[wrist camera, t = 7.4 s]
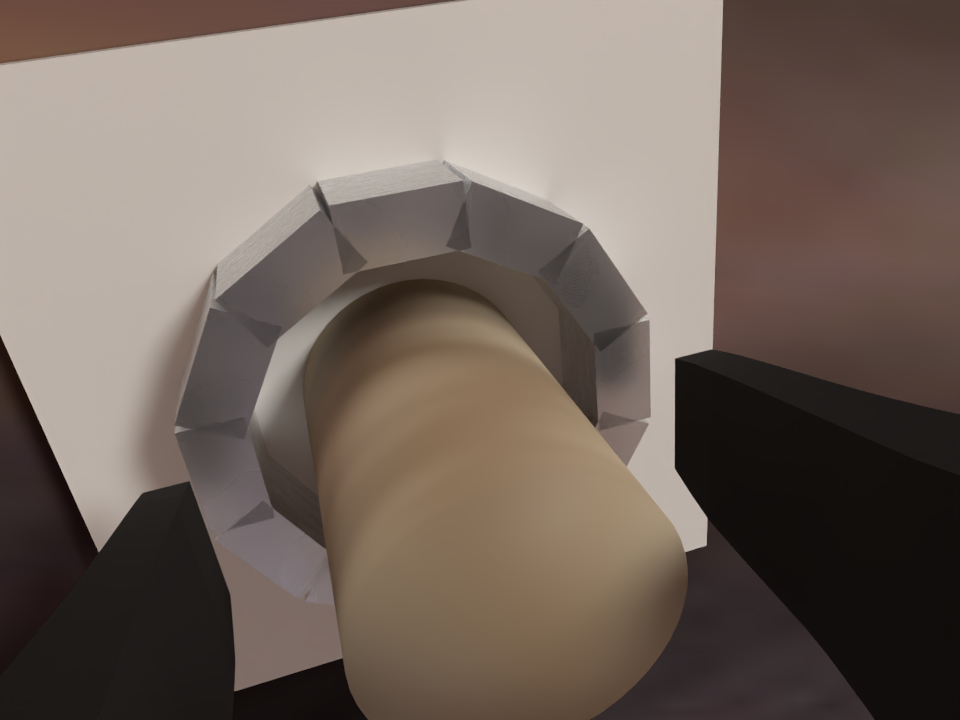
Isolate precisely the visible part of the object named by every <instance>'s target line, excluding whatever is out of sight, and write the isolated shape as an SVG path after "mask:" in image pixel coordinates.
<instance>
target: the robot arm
mask: <svg viewBox="0 0 960 720" xmlns="http://www.w3.org/2000/svg"><path fill="white" fill-rule="evenodd" d="M675 470H676V471H677V473H678V474H679V476H680V478H681V479H682V481H683V482H684V484H685V485H686V487H687V489H688V490H689V492H690V493H691V495H692V496H693V498H694V499H695V501H696V502H697V504H698V505H699V506H700V508H701V509H702V511H703V512H704V514H705V515H706V517H707V518H708V519H709V521H710V522H711V523H712V524H713V525H714V526H715V528H716V529H717V530H718V531H719V532H720V533H721V534H722V536H723V537H724V538H725V539H726V540H727V541H728V542H729V543H730V545H731V546H732V547H733V548H734V549H735V550H736V551H737V552H738V554H739V555H740V556H741V557H742V558H743V559H744V560H745V561H746V563H747V564H748V565H749V566H750V567H751V568H752V569H753V570H754V571H755V572H756V574H757V575H758V576H759V577H760V578H761V579H762V580H763V581H764V582H765V584H766V585H767V586H768V587H769V588H770V589H771V590H772V591H773V592H774V594H775V595H776V596H777V597H778V598H779V599H780V600H781V601H782V602H783V603H784V605H785V606H786V607H787V608H788V609H789V610H790V611H791V612H792V613H793V615H794V616H795V617H796V618H797V619H798V620H799V621H800V622H801V623H802V625H803V626H804V627H805V628H806V629H807V630H808V632H809V633H810V634H811V635H812V636H813V638H814V639H815V640H816V641H817V642H818V644H819V645H820V646H821V647H822V648H823V650H824V651H825V652H826V653H827V655H828V656H829V657H830V659H831V660H832V661H833V663H834V664H835V666H836V667H837V668H838V670H839V671H840V672H841V674H842V675H843V676H844V678H845V679H846V681H847V682H848V683H849V685H850V686H851V687H852V689H853V690H854V691H855V693H856V694H857V696H858V697H859V698H860V700H861V701H862V702H863V704H864V705H865V707H866V708H867V709H868V711H869V712H870V713H871V715H872V716H873V718H874V719H875V720H960V414H956V413H951V412H946V411H942V410H937V409H932V408H928V407H924V406H920V405H916V404H912V403H908V402H904V401H900V400H895V399H891V398H887V397H883V396H879V395H876V394H872V393H868V392H865V391H861V390H857V389H854V388H850V387H847V386H843V385H840V384H836V383H833V382H829V381H826V380H822V379H819V378H815V377H812V376H809V375H805V374H802V373H799V372H795V371H792V370H789V369H785V368H782V367H779V366H775V365H772V364H768V363H765V362H761V361H758V360H754V359H751V358H747V357H743V356H740V355H736V354H731V353H727V352H722V351H717V350H711V349H710V350H707V351H703V352H699V353H695V354H691V355H687V356H683V357H679V358H675ZM234 684H235V646H234V631H233V619H232V607H231V596H230V592H229V589H228V587H227V584H226V581H225V578H224V576H223V573H222V570H221V567H220V564H219V562H218V559H217V556H216V553H215V551H214V548H213V545H212V542H211V539H210V537H209V534H208V531H207V528H206V525H205V523H204V520H203V517H202V514H201V512H200V509H199V506H198V503H197V500H196V498H195V495H194V492H193V489H192V487H191V484H190V481H188V482H184V483H180V484H176V485H172V486H168V487H164V488H160V489H156V490H152V491H148V492H144V493H142V494H141V495H140V497H139V498H138V499H137V500H136V502H135V503H134V504H133V506H132V507H131V509H130V510H129V511H128V513H127V514H126V515H125V517H124V518H123V520H122V521H121V522H120V524H119V525H118V527H117V528H116V529H115V531H114V532H113V534H112V535H111V536H110V538H109V539H108V541H107V542H106V543H105V545H104V546H103V548H102V549H101V550H100V552H99V553H98V555H97V556H96V557H95V559H94V560H93V561H92V563H91V564H90V565H89V567H88V568H87V569H86V571H85V572H84V573H83V575H82V576H81V577H80V579H79V580H78V581H77V583H76V584H75V585H74V587H73V588H72V589H71V591H70V592H69V593H68V595H67V596H66V597H65V599H64V600H63V601H62V602H61V604H60V605H59V606H58V607H57V608H56V610H55V611H54V612H53V613H52V614H51V616H50V617H49V618H48V619H47V620H46V622H45V623H44V624H43V625H42V627H41V628H40V629H39V630H38V631H37V633H36V634H35V635H34V636H33V637H32V639H31V640H30V641H29V642H28V643H27V645H26V646H25V647H24V648H23V649H22V651H21V652H20V653H19V654H18V656H17V657H16V658H15V659H14V660H13V662H12V663H11V664H10V665H9V666H8V667H7V668H6V670H5V671H4V672H3V673H2V674H1V675H0V720H233V703H234Z"/></svg>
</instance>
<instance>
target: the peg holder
mask: <svg viewBox="0 0 960 720" xmlns="http://www.w3.org/2000/svg"><path fill="white" fill-rule="evenodd" d="M722 16H723V0H456V1H449V2H442V3H434V4H427V5H420V6H413V7H406V8H398V9H391V10H384V11H377V12H369V13H362V14H355V15H348V16H341V17H333V18H326V19H319V20H312V21H304V22H297V23H290V24H283V25H276V26H268V27H261V28H254V29H247V30H240V31H232V32H225V33H218V34H211V35H203V36H196V37H189V38H182V39H175V40H167V41H160V42H153V43H146V44H139V45H131V46H124V47H117V48H110V49H102V50H95V51H88V52H81V53H74V54H66V55H59V56H52V57H45V58H37V59H30V60H23V61H16V62H9V63H1V64H0V336H1V338H2V340H3V342H4V345H5V347H6V349H7V351H8V353H9V356H10V358H11V360H12V362H13V364H14V367H15V369H16V371H17V373H18V375H19V378H20V380H21V382H22V384H23V386H24V389H25V391H26V393H27V395H28V398H29V400H30V402H31V404H32V406H33V409H34V411H35V413H36V415H37V417H38V420H39V422H40V424H41V426H42V428H43V431H44V433H45V435H46V437H47V439H48V442H49V444H50V446H51V448H52V451H53V453H54V455H55V457H56V459H57V462H58V464H59V466H60V468H61V470H62V473H63V475H64V477H65V479H66V481H67V484H68V486H69V488H70V490H71V492H72V495H73V497H74V499H75V501H76V504H77V506H78V508H79V510H80V512H81V515H82V517H83V519H84V521H85V523H86V526H87V528H88V530H89V532H90V534H91V537H92V539H93V541H94V543H95V545H96V548H97V550H98V552H100V550H101V549H102V548H103V546H104V545H105V543H106V542H107V541H108V539H109V538H110V536H111V535H112V534H113V532H114V531H115V529H116V528H117V527H118V525H119V524H120V522H121V521H122V520H123V518H124V517H125V515H126V514H127V513H128V511H129V510H130V509H131V507H132V506H133V504H134V503H135V502H136V500H137V499H138V498H139V497H140V495H141V494H142V493H144V492H148V491H152V490H156V489H160V488H164V487H168V486H172V485H176V484H180V483H184V482H188V481H190V484H191V487H192V489H193V492H194V495H195V498H196V500H197V503H198V506H199V509H200V512H201V514H202V517H203V520H204V523H205V525H206V528H207V531H208V534H209V537H210V539H211V542H212V545H213V548H214V551H215V553H216V556H217V559H218V562H219V564H220V567H221V570H222V573H223V576H224V578H225V581H226V584H227V587H228V589H229V592H230V596H231V607H232V619H233V631H234V646H235V684H234V691H238V690H241V689H244V688H247V687H251V686H254V685H257V684H260V683H263V682H267V681H270V680H273V679H276V678H280V677H283V676H286V675H289V674H293V673H296V672H299V671H302V670H305V669H309V668H312V667H315V666H318V665H322V664H325V663H328V662H331V661H335V660H338V659H341V658H343V655H342V649H341V642H340V636H339V629H338V623H337V616H336V609H335V603H334V596H333V590H332V583H331V577H330V570H329V564H328V557H327V550H326V544H325V537H324V531H323V524H322V518H321V511H320V505H319V498H318V491H317V485H316V478H315V472H314V465H313V459H312V452H311V446H310V439H309V432H308V426H307V419H306V413H305V406H304V397H303V381H304V373H305V369H306V364H307V361H308V358H309V356H310V353H311V350H312V348H313V346H314V344H315V342H316V341H317V339H318V337H319V335H320V334H321V333H322V331H323V330H324V328H325V327H326V326H327V324H328V323H329V322H330V321H331V320H332V319H333V318H334V317H335V316H336V315H337V314H338V313H339V312H340V311H341V310H342V309H344V308H345V307H346V306H347V305H349V304H350V303H351V302H353V301H354V300H356V299H358V298H359V297H361V296H362V295H364V294H366V293H368V292H370V291H373V290H375V289H377V288H379V287H382V286H386V285H389V284H392V283H396V282H401V281H406V280H417V279H431V280H441V281H447V282H452V283H455V284H458V285H461V286H464V287H467V288H469V289H471V290H473V291H475V292H477V293H479V294H480V295H482V296H483V297H485V298H486V299H488V300H489V301H490V302H492V303H493V304H494V305H495V306H496V307H497V308H498V309H499V310H500V311H501V312H502V314H503V315H504V316H505V317H506V319H507V320H508V321H509V322H510V323H511V325H512V326H513V327H514V328H515V330H516V331H517V332H518V333H519V335H520V336H521V337H522V338H523V340H524V341H525V342H526V343H527V344H528V346H529V347H530V348H531V349H532V351H533V352H534V353H535V354H536V356H537V357H538V358H539V359H540V361H541V362H542V363H543V364H544V365H545V367H546V368H547V369H548V370H549V372H550V373H551V374H552V375H553V377H554V378H555V379H556V380H557V382H558V383H559V384H560V385H561V386H562V388H563V389H564V390H565V391H566V393H567V394H568V395H569V396H570V398H571V399H572V400H573V401H574V403H575V404H576V405H577V406H578V408H579V409H580V410H581V411H582V412H583V414H584V415H585V416H586V417H587V419H588V420H589V421H590V422H591V424H592V425H593V426H594V427H595V429H596V430H597V431H598V432H599V433H600V435H601V436H602V437H603V438H604V440H605V441H606V442H607V443H608V445H609V446H610V447H611V448H612V450H613V451H614V452H615V453H616V454H617V456H618V457H619V458H620V459H621V461H622V462H623V463H624V464H625V466H626V467H627V468H628V469H629V471H630V472H631V473H632V474H633V475H634V477H635V478H636V479H637V480H638V482H639V483H640V484H641V485H642V487H643V488H644V489H645V490H646V492H647V493H648V494H649V495H650V497H651V498H652V499H653V500H654V501H655V503H656V504H657V505H658V506H659V508H660V509H661V510H662V511H663V513H664V514H665V515H666V516H667V518H668V519H669V520H670V521H671V523H672V524H673V525H674V527H675V529H676V531H677V533H678V535H679V537H680V539H681V541H682V545H683V548H684V551H685V552H687V551H690V550H693V549H696V548H700V547H703V546H706V545H707V517H706V515H705V514H704V512H703V511H702V509H701V508H700V506H699V505H698V504H697V502H696V501H695V499H694V498H693V496H692V495H691V493H690V492H689V490H688V489H687V487H686V485H685V484H684V482H683V481H682V479H681V478H680V476H679V474H678V473H677V471H676V470H675V358H679V357H683V356H687V355H691V354H695V353H699V352H703V351H707V350H710V349H711V350H712V347H713V314H714V281H715V248H716V214H717V181H718V148H719V115H720V82H721V49H722Z"/></svg>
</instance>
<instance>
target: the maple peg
mask: <svg viewBox="0 0 960 720" xmlns="http://www.w3.org/2000/svg"><path fill="white" fill-rule="evenodd" d="M303 397H304V406H305V413H306V419H307V426H308V432H309V439H310V446H311V452H312V459H313V465H314V472H315V478H316V485H317V491H318V498H319V505H320V511H321V518H322V524H323V531H324V537H325V544H326V550H327V557H328V564H329V570H330V577H331V583H332V590H333V596H334V603H335V609H336V616H337V623H338V629H339V636H340V642H341V649H342V655H343V662H344V668H345V674H346V678H347V682H348V685H349V689H350V691H351V694H352V696H353V698H354V700H355V702H356V704H357V706H358V707H359V708H360V710H361V711H362V712H363V714H364V715H365V716H366V718H367V719H368V720H590V719H592V718H593V717H595V716H596V715H598V714H600V713H601V712H603V711H604V710H605V709H607V708H608V707H609V706H611V705H612V704H613V703H615V702H616V701H617V700H619V699H620V698H621V697H622V696H623V695H624V694H625V693H627V692H628V691H629V690H630V689H631V688H632V687H633V686H634V685H635V684H636V683H637V682H638V681H639V680H640V679H641V678H642V677H643V676H644V675H645V674H646V673H647V671H648V670H649V669H650V668H651V666H652V665H653V664H654V663H655V661H656V660H657V659H658V657H659V656H660V655H661V653H662V651H663V650H664V648H665V647H666V645H667V643H668V642H669V640H670V638H671V636H672V634H673V632H674V630H675V628H676V626H677V624H678V621H679V618H680V615H681V612H682V609H683V606H684V602H685V597H686V591H687V579H688V569H687V561H686V554H685V551H684V548H683V545H682V541H681V539H680V537H679V535H678V533H677V531H676V529H675V527H674V525H673V524H672V523H671V521H670V520H669V519H668V518H667V516H666V515H665V514H664V513H663V511H662V510H661V509H660V508H659V506H658V505H657V504H656V503H655V501H654V500H653V499H652V498H651V497H650V495H649V494H648V493H647V492H646V490H645V489H644V488H643V487H642V485H641V484H640V483H639V482H638V480H637V479H636V478H635V477H634V475H633V474H632V473H631V472H630V471H629V469H628V468H627V467H626V466H625V464H624V463H623V462H622V461H621V459H620V458H619V457H618V456H617V454H616V453H615V452H614V451H613V450H612V448H611V447H610V446H609V445H608V443H607V442H606V441H605V440H604V438H603V437H602V436H601V435H600V433H599V432H598V431H597V430H596V429H595V427H594V426H593V425H592V424H591V422H590V421H589V420H588V419H587V417H586V416H585V415H584V414H583V412H582V411H581V410H580V409H579V408H578V406H577V405H576V404H575V403H574V401H573V400H572V399H571V398H570V396H569V395H568V394H567V393H566V391H565V390H564V389H563V388H562V386H561V385H560V384H559V383H558V382H557V380H556V379H555V378H554V377H553V375H552V374H551V373H550V372H549V370H548V369H547V368H546V367H545V365H544V364H543V363H542V362H541V361H540V359H539V358H538V357H537V356H536V354H535V353H534V352H533V351H532V349H531V348H530V347H529V346H528V344H527V343H526V342H525V341H524V340H523V338H522V337H521V336H520V335H519V333H518V332H517V331H516V330H515V328H514V327H513V326H512V325H511V323H510V322H509V321H508V320H507V319H506V317H505V316H504V315H503V314H502V312H501V311H500V310H499V309H498V308H497V307H496V306H495V305H494V304H493V303H492V302H490V301H489V300H488V299H486V298H485V297H483V296H482V295H480V294H479V293H477V292H475V291H473V290H471V289H469V288H467V287H464V286H461V285H458V284H455V283H452V282H447V281H441V280H431V279H417V280H406V281H401V282H396V283H392V284H389V285H386V286H382V287H379V288H377V289H375V290H373V291H370V292H368V293H366V294H364V295H362V296H361V297H359V298H358V299H356V300H354V301H353V302H351V303H350V304H349V305H347V306H346V307H345V308H344V309H342V310H341V311H340V312H339V313H338V314H337V315H336V316H335V317H334V318H333V319H332V320H331V321H330V322H329V323H328V324H327V326H326V327H325V328H324V330H323V331H322V333H321V334H320V335H319V337H318V339H317V341H316V342H315V344H314V346H313V348H312V350H311V353H310V356H309V358H308V361H307V364H306V369H305V373H304V381H303Z"/></svg>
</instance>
